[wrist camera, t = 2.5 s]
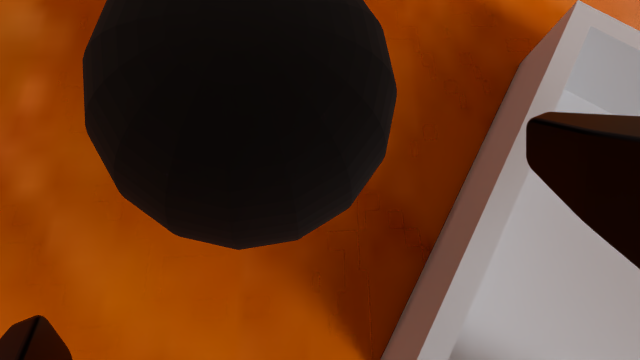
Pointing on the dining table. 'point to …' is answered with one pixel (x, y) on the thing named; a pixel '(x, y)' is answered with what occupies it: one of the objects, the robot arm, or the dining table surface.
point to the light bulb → (239, 112)
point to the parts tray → (532, 225)
